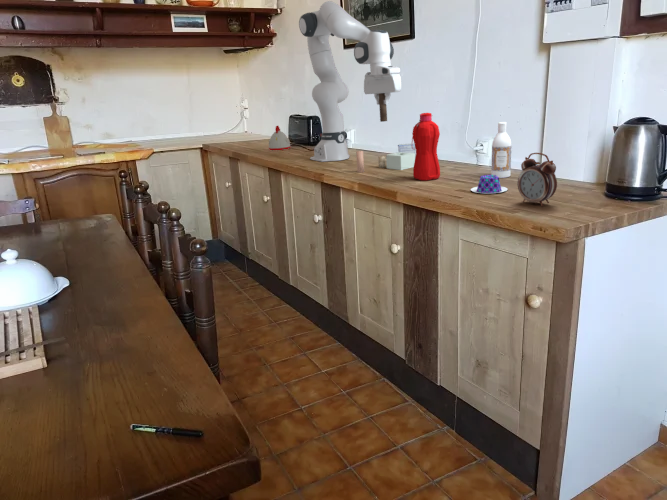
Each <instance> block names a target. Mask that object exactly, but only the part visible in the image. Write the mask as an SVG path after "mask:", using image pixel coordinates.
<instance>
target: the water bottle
mask: <svg viewBox="0 0 667 500" xmlns="http://www.w3.org/2000/svg"><path fill="white" fill-rule="evenodd" d="M432 117H433V115H432V113H430V112H423V113H420V114H419V121H418V122H417V123H416V124H414V126H413V128H412V132H411V133H412V138H411V143H413V144H415V149H416V157H415V162H414V167H412V168H413V171H412V172H413V174H412V175H413V177H414V179H415V180H420V181H421V182H423V181H431V180H437V179H439V178H440V176H441V167H440V163H439V157H438V151H437V150H438V143H439V139H440V135H441V134H440V127H439V125H438V124H437V122H434V121H433V120H432ZM412 149H413V147H412ZM413 150H414V149H413Z"/></svg>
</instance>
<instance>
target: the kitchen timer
mask: <svg viewBox="0 0 667 500" xmlns="http://www.w3.org/2000/svg"><path fill="white" fill-rule="evenodd" d="M274 129H275V130H274V132H273V134H272V135H271V136H270V139H268V150H269V149H270V150H282V151H284V150H283V149H288V148H292V147H291V143H290V139H289V137H288V136H287V135H286V133H284V132H283V131H281V128H280V126H279V125H276V126H275V128H274ZM288 150H289V149H288Z"/></svg>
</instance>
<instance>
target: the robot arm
mask: <svg viewBox="0 0 667 500" xmlns="http://www.w3.org/2000/svg"><path fill="white" fill-rule="evenodd" d="M298 27H299V31H300V33H301V34H302V36H304V37H307V39H306V40H307V47H308V48H307V49H308V54H309V58H310V61H311V62H310V63H311V65H312V69H313V72H314V74H315V75H316V77H318V79H319V80H320V83H317V84H316V85H314V87H313V88H312V91H311V97H312V100H313V101H314V102H315V104H316V105H317V107H318V111H319V113H320V116H321V125H322V133H319V134H320V135H319V136H320V141H319V142H318V143H317V144H316V145H315V147H314V150H313V151H314V152H313V153H314V155H313V156H310V158H309V160H313V161H317V162H321V163H322V162H337V161H344V160H348V159H349V158H350V157H351V155H350V154H349V150H348V145H347V141H346V130H345V123H344V122H345V121H344V115H343V113H342V111H340V108H339V103H342V102H345V100H347V98H348V96H349V92H350V91H349V87H348V85H347V84H346V83H345V82H344V81H343V79H342V78H341V75H340V74H339V72H338V69H337V67H336V63H335V60H334V56H333V53H332V49H331V45H330V41H329V38H330V36H332V37H334V36H335V37H336V38H339V39H345V40H355V41H357V42H356V43H355V46H354V49H353V56H354V60H355V61H356V62H357V63H358V64H359V65H369V69H370V71H367V72H366V73H365V75H364V80H363V94H365V95H374V96H373V97H374V99H375V100H376V105H377V106H379V93H385V96H386V97H385V100H384V104H386V105H389V104H390V97H391V93H399V92H401V91H402V77H401V75H400V73H401V68H400V67H398V66H396V65H392V59H393V56H394V54H395V53H394V52H395V51H394V45H393V43H392V42H391V41H390V35H389V33H388V31H387V30H385V29H370V27H368V26H367V25H365V23H364V24H363V23H362V22H361V21H359V20H357V19H356V18H355V17H353V16H352V15H350V14H349V12H347V11H346V10H345V9H344V8H343V7H342V6H340V5H339V4H338V3H337V2H334V1H332V0H329V1H328V0H327V1H325V2H323V3H322V4H321V5H320V8H319V9H318V10H316V11H315V10H314V11H312V12H306V13H304V14H302V15H301V16H300V17H299V21H298Z"/></svg>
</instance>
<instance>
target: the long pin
mask: <svg viewBox="0 0 667 500" xmlns="http://www.w3.org/2000/svg"><path fill="white" fill-rule="evenodd" d="M385 97H386V96H385V93H379V105H378V106H379V118H380V119H379V120H380V121H379V122H388V112H387V111H388V110H387V108H388V107H387V104H384V100H385Z"/></svg>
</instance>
